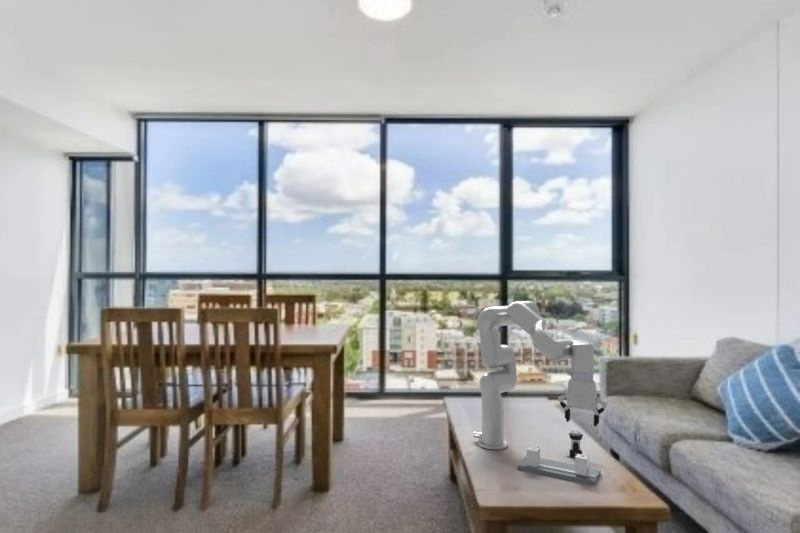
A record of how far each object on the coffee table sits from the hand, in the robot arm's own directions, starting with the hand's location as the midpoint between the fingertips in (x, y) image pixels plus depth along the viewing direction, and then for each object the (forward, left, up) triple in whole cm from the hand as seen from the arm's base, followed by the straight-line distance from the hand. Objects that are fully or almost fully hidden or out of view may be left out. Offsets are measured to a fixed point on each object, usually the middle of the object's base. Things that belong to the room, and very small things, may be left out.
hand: (581, 423), depth 189 cm
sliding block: (0, +1, -18) cm, 18 cm away
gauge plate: (-9, +2, -20) cm, 22 cm away
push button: (-7, +21, -21) cm, 30 cm away
